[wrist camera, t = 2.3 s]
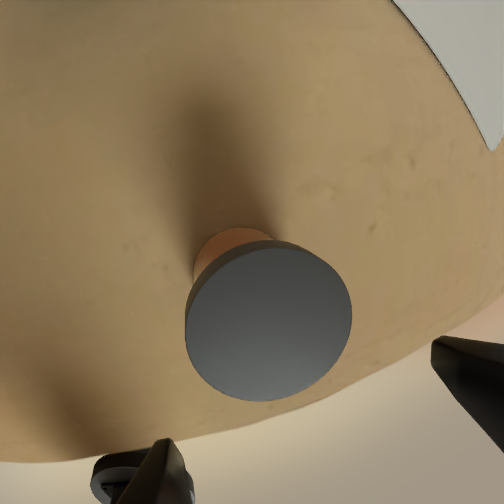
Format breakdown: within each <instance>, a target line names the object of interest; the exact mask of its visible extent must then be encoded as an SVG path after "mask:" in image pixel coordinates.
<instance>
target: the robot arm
mask: <svg viewBox="0 0 504 504" xmlns="http://www.w3.org/2000/svg"><path fill="white" fill-rule="evenodd" d="M431 365H432V367H433V369H434V370H435V371H436V373H437V374H438V376H439V377H440V378H441V380H442V381H443V382H444V384H445V385H446V386H447V388H448V389H449V391H450V392H451V393H452V395H453V396H454V397H455V399H456V400H457V401H458V402H459V403H460V404H461V405H462V407H463V408H464V409H465V410H466V411H467V412H468V413H469V414H470V415H471V416H472V418H473V419H474V420H475V421H476V422H477V423H478V424H479V425H480V427H482V429H483V430H484V431H485V432H486V433H487V434H488V436H489V437H490V438H491V439H492V440H493V441H494V442H495V444H496V445H497V446H498V447H499V448H500V449H501V451H502V452H503V453H504V344H498V343H491V342H484V341H477V340H470V339H463V338H457V337H450V336H440V337H438V338H437V339H435V340H433V342H432V345H431ZM100 488H101V489H102V490H103V491H104V492H105V493H106V494H107V495H108V496H109V497H110V498H111V501H110V504H193V502H192V497H191V492H190V488H189V483H188V478H187V474H186V469H185V464H184V460H183V457H182V455H181V453H180V452H179V450H178V449H177V447H176V446H175V444H174V442H173V441H172V440H171V439H170V438H165V439H160V440H157V441H156V442H155V443H154V445H153V446H152V448H151V449H150V451H149V453H148V454H147V456H146V457H145V459H144V461H143V462H142V464H141V465H140V467H139V468H138V470H137V472H136V473H135V475H134V476H133V478H132V479H131V481H124V482H112V483H102V484H101V487H100Z"/></svg>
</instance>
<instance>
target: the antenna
mask: <svg viewBox="0 0 504 504" xmlns="http://www.w3.org/2000/svg"><path fill="white" fill-rule="evenodd" d="M393 1H394V2H395V3H396V5H397V6H398V7H399V8H400V9H401V10H402V12H403V13H404V14H405V15H406V17H407V18H408V19H409V20H410V21H411V23H412V24H413V25H414V27H415V28H416V29H417V30H418V32H419V33H420V34H421V36H422V37H423V38H424V40H425V41H426V42H427V44H428V45H429V47H430V48H431V49H432V51H433V52H434V54H435V55H436V57H437V58H438V60H439V61H440V62H441V64H442V66H443V67H444V69H445V70H446V72H447V73H448V75H449V76H450V78H451V80H452V81H453V83H454V84H455V86H456V88H457V89H458V91H459V93H460V95H461V96H462V98H463V100H464V102H465V103H466V105H467V107H468V109H469V111H470V112H471V114H472V116H473V118H474V120H475V122H476V124H477V126H478V128H479V130H480V132H481V134H482V136H483V138H484V140H485V142H486V144H487V147H488V149H489V150H490V151H494V150H495V148H496V147H497V145H498V143H499V142H500V140H501V138H502V137H503V135H504V0H393Z"/></svg>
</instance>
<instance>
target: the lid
mask: <svg viewBox="0 0 504 504" xmlns="http://www.w3.org/2000/svg"><path fill="white" fill-rule="evenodd" d="M351 324H352V306H351V301H350V296H349V293H348V291H347V288H346V286H345V284H344V282H343V280H342V279H341V277H340V276H339V275H338V273H337V272H336V271H335V270H334V269H333V268H332V267H331V266H330V265H329V264H328V263H326V262H325V261H323V260H322V259H320V258H319V257H317V256H316V255H314V254H313V253H311V252H309V251H308V250H306V249H304V248H302V247H300V246H298V245H295V244H292V243H289V242H284V241H279V240H260V241H253V242H249V243H245V244H242V245H239V246H236V247H234V248H232V249H230V250H228V251H226V252H224V253H223V254H221V255H220V256H218V257H217V258H216V259H214V260H213V261H212V262H211V263H210V264H209V265H208V266H207V267H206V268H205V269H204V270H203V271H202V273H201V274H200V275H199V277H198V278H197V280H196V281H195V283H194V285H193V287H192V289H191V291H190V293H189V296H188V300H187V303H186V310H185V342H186V348H187V352H188V355H189V358H190V360H191V362H192V364H193V366H194V368H195V369H196V371H197V372H198V373H199V375H200V376H201V377H202V378H203V379H204V380H205V381H206V382H207V383H208V384H209V385H211V386H212V387H213V388H215V389H216V390H218V391H220V392H222V393H224V394H226V395H228V396H231V397H234V398H238V399H241V400H248V401H271V400H276V399H281V398H285V397H288V396H291V395H294V394H296V393H298V392H300V391H302V390H304V389H306V388H308V387H309V386H311V385H312V384H314V383H315V382H317V381H318V380H319V379H320V378H322V377H323V376H324V375H325V374H326V373H327V372H328V371H329V370H330V369H331V368H332V366H333V365H334V364H335V363H336V361H337V360H338V358H339V357H340V355H341V353H342V352H343V350H344V347H345V345H346V343H347V340H348V337H349V334H350V329H351Z"/></svg>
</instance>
